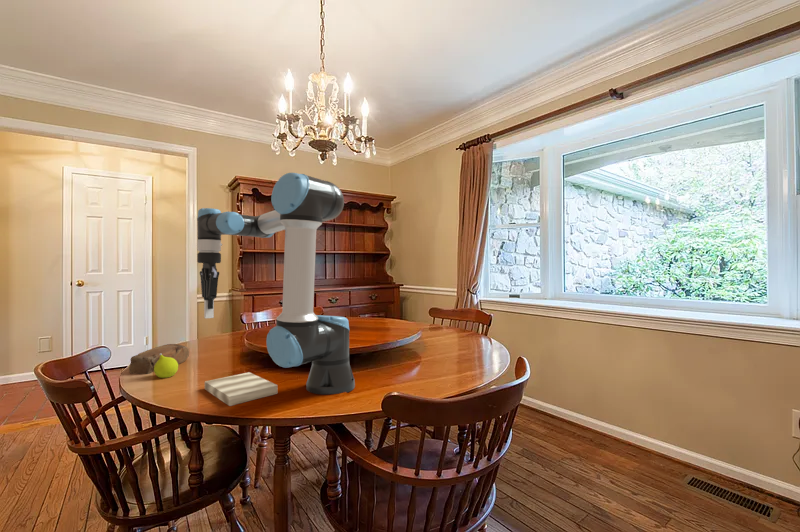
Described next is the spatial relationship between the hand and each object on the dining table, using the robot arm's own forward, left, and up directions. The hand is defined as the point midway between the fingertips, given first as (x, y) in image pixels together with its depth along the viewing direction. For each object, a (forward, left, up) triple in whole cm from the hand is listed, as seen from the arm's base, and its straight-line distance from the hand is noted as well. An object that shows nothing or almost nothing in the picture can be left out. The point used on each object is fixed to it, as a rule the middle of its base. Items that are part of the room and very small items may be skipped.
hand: (208, 317), depth 131 cm
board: (-27, 0, -20) cm, 34 cm away
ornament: (+6, +12, -20) cm, 24 cm away
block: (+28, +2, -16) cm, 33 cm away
